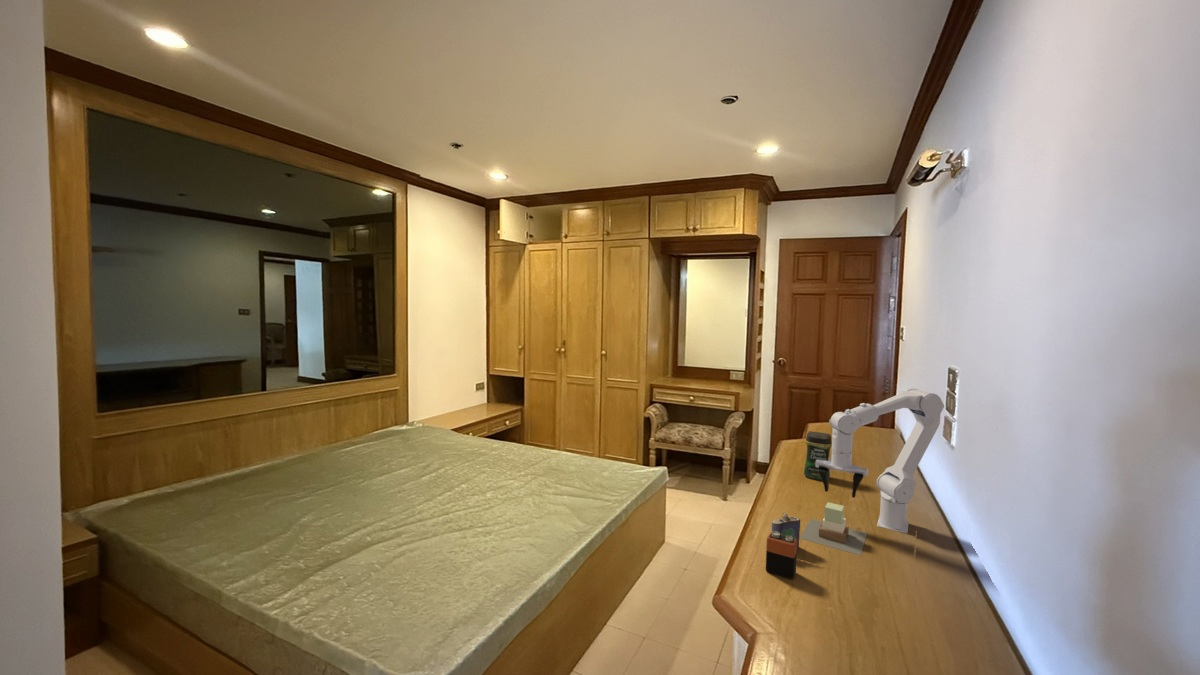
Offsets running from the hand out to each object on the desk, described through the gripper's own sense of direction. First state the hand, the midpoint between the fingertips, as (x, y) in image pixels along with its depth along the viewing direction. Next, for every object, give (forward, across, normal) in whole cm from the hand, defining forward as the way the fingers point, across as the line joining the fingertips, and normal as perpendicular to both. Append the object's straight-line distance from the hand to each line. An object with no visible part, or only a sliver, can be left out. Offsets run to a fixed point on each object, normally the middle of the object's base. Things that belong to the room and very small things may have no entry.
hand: (839, 493), depth 147 cm
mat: (+10, 0, -9) cm, 14 cm away
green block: (+5, 0, -9) cm, 11 cm away
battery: (+11, -8, -38) cm, 40 cm away
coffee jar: (+11, -14, +42) cm, 46 cm away
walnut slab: (+10, 0, -9) cm, 13 cm away
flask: (+11, -10, -26) cm, 30 cm away
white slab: (+8, 0, -9) cm, 12 cm away
